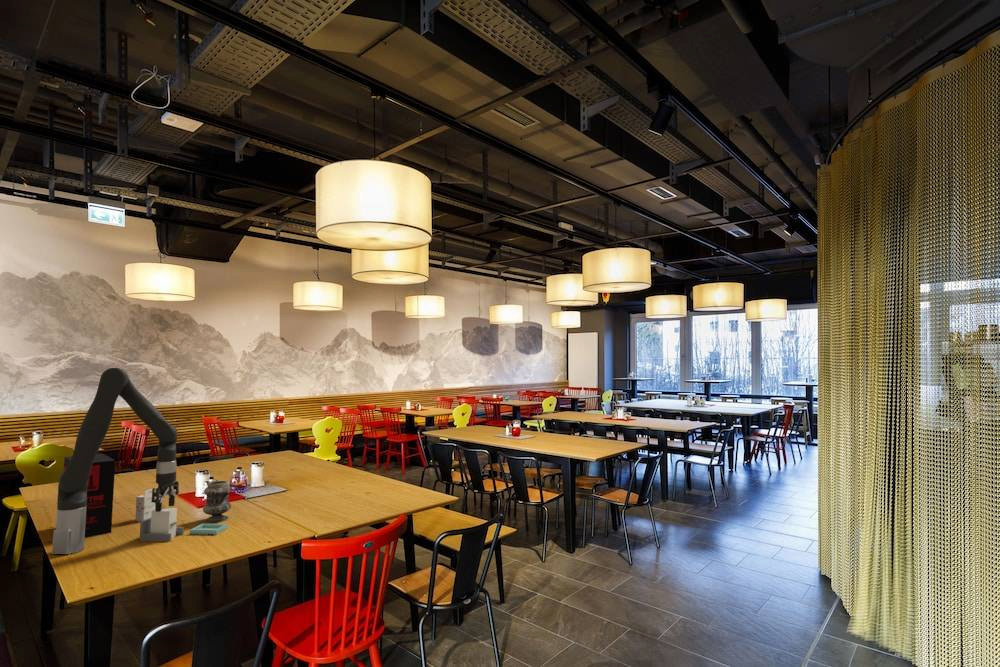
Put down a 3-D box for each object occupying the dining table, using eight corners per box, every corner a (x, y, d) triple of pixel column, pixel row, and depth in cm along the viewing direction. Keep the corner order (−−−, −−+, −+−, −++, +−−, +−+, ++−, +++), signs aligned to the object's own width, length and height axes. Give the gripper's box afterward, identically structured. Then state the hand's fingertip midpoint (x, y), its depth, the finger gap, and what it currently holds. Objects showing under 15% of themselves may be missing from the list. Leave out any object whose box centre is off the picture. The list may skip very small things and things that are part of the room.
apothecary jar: (221, 514, 259) (223, 478, 260) (235, 518, 253) (237, 481, 254) (197, 520, 249) (198, 482, 250) (211, 524, 242) (213, 486, 244)
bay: (169, 541, 219) (170, 522, 220) (139, 540, 219) (140, 521, 220) (183, 534, 229) (184, 515, 229) (154, 533, 229) (155, 515, 229)
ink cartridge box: (150, 516, 255) (151, 486, 256) (158, 517, 254) (159, 486, 255) (134, 521, 247) (136, 490, 248) (143, 522, 246) (144, 490, 247)
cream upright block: (170, 539, 221) (171, 511, 222) (150, 539, 222) (151, 511, 222) (177, 535, 226) (179, 508, 227) (158, 535, 227) (159, 507, 227)
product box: (111, 532, 230) (115, 460, 232) (70, 540, 219) (74, 464, 221) (98, 520, 248) (102, 453, 250) (60, 527, 237) (64, 457, 239)
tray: (216, 534, 228) (216, 530, 228) (189, 534, 228) (190, 529, 228) (227, 528, 237) (227, 524, 237) (202, 528, 237) (202, 523, 237)
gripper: (163, 474, 219) (162, 513, 218) (184, 467, 233) (183, 504, 232) (146, 474, 219) (145, 513, 218) (168, 467, 233) (167, 504, 232)
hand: (165, 508), depth 225 cm, fingers open, 8 cm apart
